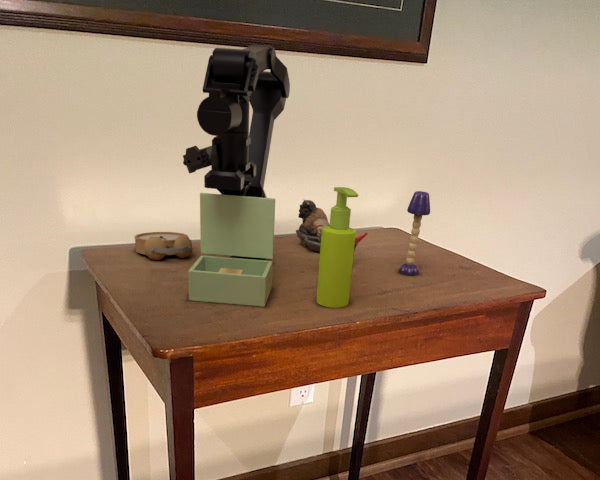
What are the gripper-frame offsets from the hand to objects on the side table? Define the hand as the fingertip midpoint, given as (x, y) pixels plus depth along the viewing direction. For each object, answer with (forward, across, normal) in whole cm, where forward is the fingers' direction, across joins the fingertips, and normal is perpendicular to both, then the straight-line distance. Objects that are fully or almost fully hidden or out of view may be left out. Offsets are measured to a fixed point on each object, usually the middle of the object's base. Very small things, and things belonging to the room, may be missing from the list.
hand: (231, 222), depth 115 cm
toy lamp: (+11, -15, +36) cm, 40 cm away
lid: (0, +4, +2) cm, 4 cm away
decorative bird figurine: (+11, -15, +22) cm, 28 cm away
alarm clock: (+11, -13, -17) cm, 24 cm away
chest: (+11, +9, +2) cm, 14 cm away
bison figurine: (+11, -30, +14) cm, 35 cm away
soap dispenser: (+11, +9, +20) cm, 25 cm away
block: (+10, +10, +2) cm, 15 cm away
